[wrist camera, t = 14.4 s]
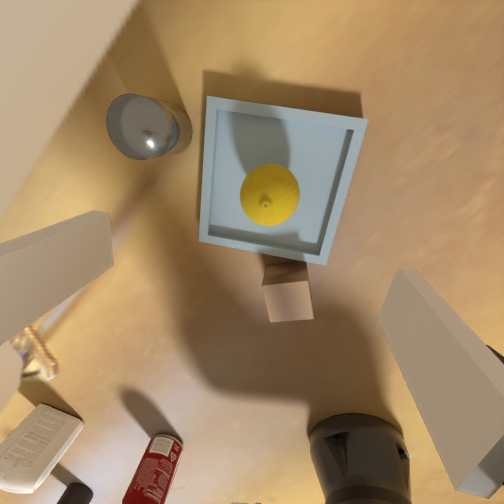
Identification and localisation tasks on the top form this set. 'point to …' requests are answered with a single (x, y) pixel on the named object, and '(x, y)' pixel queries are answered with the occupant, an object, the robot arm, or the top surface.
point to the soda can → (155, 471)
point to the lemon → (269, 194)
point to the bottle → (76, 495)
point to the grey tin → (147, 127)
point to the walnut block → (287, 292)
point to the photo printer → (36, 448)
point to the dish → (285, 154)
